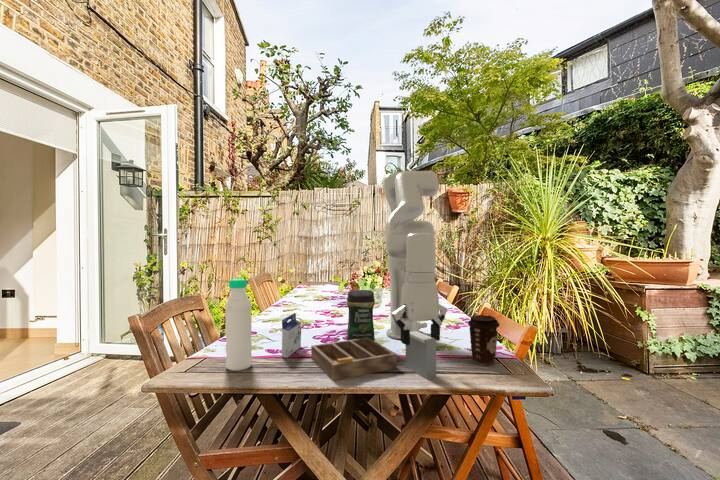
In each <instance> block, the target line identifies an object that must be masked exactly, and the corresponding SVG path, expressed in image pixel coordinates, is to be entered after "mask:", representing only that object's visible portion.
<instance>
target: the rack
mask: <svg viewBox="0 0 720 480" xmlns="http://www.w3.org/2000/svg"><path fill="white" fill-rule="evenodd" d="M310 346H311V360H312V361H313V362H314V363H315V364H316V365H317V366H318V367H319V368H320V370H322V371H323V372H324V373H325V374H326V375H327V376H328V377H329V378H330V379H331V380H332V381H337V380H344V379H348V378H353V377H354V378H355V377H359V376H364V375H369V374H374V373H380V372H384V371H389V370H394V369H397V367H398V366H397V363H398V362H397V358H398V357H397V353H395V352H394V351H392V350H391V349H388V348H387V347H385V346H383V345H382V344H380V343H378V342H377V341H376V340H375V341H373V340H371V339H369V338H368V337H367V338H360V339H353V340H347V339H346V340H342V341H341V340H340V341H334V342H333V341H332V342H328V343H327V342H326V343H321V344H314V345H310Z"/></svg>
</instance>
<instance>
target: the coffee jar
mask: <svg viewBox="0 0 720 480" xmlns="http://www.w3.org/2000/svg"><path fill="white" fill-rule="evenodd" d="M375 304H376V299H375V293H374V292H373V290H372V289H353V290H349V291H348V292H347V297H346V305H347V307H348V319H347V320H348V322H347V330H346V341H347V340H353V339H360V338H367V337H368V338H369V339H371V340H373V341H375V342H376V340H375V339H376V338H375V325H374V306H375Z"/></svg>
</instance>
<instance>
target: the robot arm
mask: <svg viewBox="0 0 720 480" xmlns="http://www.w3.org/2000/svg"><path fill="white" fill-rule="evenodd" d="M383 190H384V194H385V198H386V201H387V203H388V207H389V210H390V215H389V217H388V218H387V220H386V223H385V228H384V240H385V241H384V242H385V250H386V254H387V255H388V257H387V265H388V273H389V284H390V294H389V295H390V328H389V329H387V330H386V331H385V332H386V336H387V337H389V338H392V339H397V340H400V342H401V344H403V345H405V346H406V345H409V344H410V331H413V330H415V331H418V332H420V333H422V332H421V331H420V330H421V329H425V328H428V323H427V321H430V322H431V324H430V337H432V338H434V339H436V342H437V341H440V339H441V337H440V336H441V326H442V325H443V322H444V320H445V319H446V315H447V313H448V312H447V311H448V308H447V307H445V306H444V305H442V304H440V301H439V292H438V288H437V287H438V286H437V283H436V282H435V279H437V278H438V274H437V272H436V273H435V271H436V266H437V259H436V257H437V255H436V254H437V253H436V239H435V238H436V236H435V229H434V226H433V224H432V223H431V222H430V221H429V220H415V219H418V217H420V216H421V215H422V214H423V212H424V210H425V203H424V199H423V197H435V196H436V195H437V194H438V192H439V179H438V176H437V174H436V173H435V171H431V170H407V171H395V172H390V173H388V174H386V175H385V176H384V179H383Z"/></svg>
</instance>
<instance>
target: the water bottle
mask: <svg viewBox="0 0 720 480" xmlns="http://www.w3.org/2000/svg"><path fill="white" fill-rule="evenodd" d="M247 286H248V282H247V279H245V278H233V279H230V280H229V282H228V287H229V290H230V294H229V295H228V297H227V300H226V302H225V303H224V304H225V306H224V309H225V319H224V321H225V323H224V324H225V327H224V328H225V341H226V344H225V354H226V356H225V368H226V369H227V370H229V371H233V372H236V371H237V372H238V371H245V370H246V369H249V368H251V366H252V365H253V357H252V356H253V354H252V350H253V346H252V311H251V309H252V302H251V300H250V298H249V296H248V294H247V292H246V289H247Z"/></svg>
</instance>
